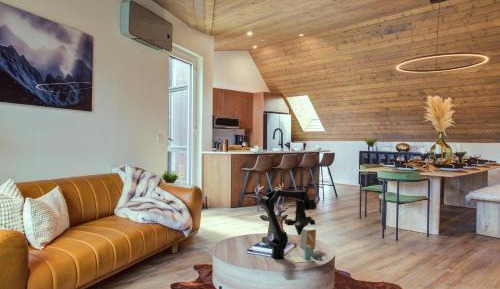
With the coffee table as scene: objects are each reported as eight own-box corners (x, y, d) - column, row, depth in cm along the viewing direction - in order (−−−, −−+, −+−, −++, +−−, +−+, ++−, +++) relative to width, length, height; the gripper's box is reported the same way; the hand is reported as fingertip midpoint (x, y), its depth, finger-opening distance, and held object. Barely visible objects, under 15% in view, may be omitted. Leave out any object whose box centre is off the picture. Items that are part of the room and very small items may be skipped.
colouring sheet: (295, 262, 210) (295, 262, 210) (289, 258, 218) (289, 257, 218) (315, 261, 214) (315, 260, 214) (309, 257, 222) (309, 256, 222)
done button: (314, 258, 219) (315, 251, 219) (312, 256, 223) (312, 249, 222) (320, 257, 220) (320, 250, 220) (317, 255, 224) (317, 248, 223)
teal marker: (306, 259, 214) (307, 246, 214) (303, 257, 218) (304, 244, 218) (311, 259, 216) (312, 246, 216) (308, 257, 219) (309, 244, 219)
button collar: (314, 259, 218) (314, 255, 218) (310, 256, 223) (310, 252, 223) (321, 258, 220) (322, 254, 220) (317, 255, 224) (318, 252, 224)
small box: (306, 250, 235) (307, 230, 234) (299, 247, 240) (300, 228, 240) (315, 248, 239) (316, 229, 239) (308, 246, 244) (309, 226, 244)
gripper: (291, 213, 214) (290, 239, 215) (320, 213, 220) (318, 238, 220) (284, 209, 225) (283, 234, 225) (311, 209, 230) (310, 233, 231)
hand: (299, 235), depth 225 cm, fingers closed
